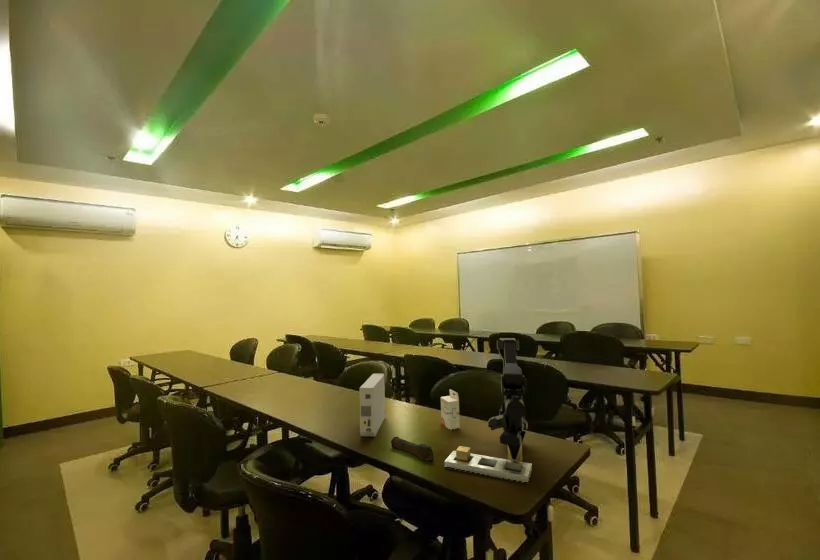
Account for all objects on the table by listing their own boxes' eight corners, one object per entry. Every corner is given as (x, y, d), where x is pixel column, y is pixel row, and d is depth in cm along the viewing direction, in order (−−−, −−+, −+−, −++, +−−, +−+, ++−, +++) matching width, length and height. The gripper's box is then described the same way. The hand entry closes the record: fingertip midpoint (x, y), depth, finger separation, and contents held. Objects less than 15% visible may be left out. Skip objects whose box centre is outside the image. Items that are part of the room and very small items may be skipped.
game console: (385, 416, 172) (385, 373, 173) (374, 439, 145) (373, 387, 146) (373, 416, 173) (373, 373, 174) (360, 438, 146) (359, 387, 147)
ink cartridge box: (440, 423, 161) (439, 389, 162) (450, 422, 163) (449, 388, 163) (449, 430, 153) (448, 394, 154) (460, 428, 155) (459, 393, 155)
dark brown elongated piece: (390, 448, 136) (390, 436, 136) (398, 445, 139) (398, 433, 139) (427, 465, 122) (427, 450, 123) (435, 461, 125) (435, 447, 125)
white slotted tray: (453, 456, 128) (453, 441, 128) (532, 470, 117) (531, 454, 117) (444, 467, 120) (444, 451, 120) (528, 483, 109) (527, 465, 109)
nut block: (510, 457, 126) (509, 439, 127) (522, 459, 125) (521, 441, 125) (508, 461, 123) (507, 443, 123) (520, 464, 121) (519, 445, 121)
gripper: (495, 399, 136) (497, 442, 136) (483, 414, 120) (484, 464, 119) (527, 403, 132) (528, 447, 131) (518, 419, 115) (520, 470, 114)
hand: (515, 456), depth 124 cm, fingers closed on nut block, 4 cm apart
